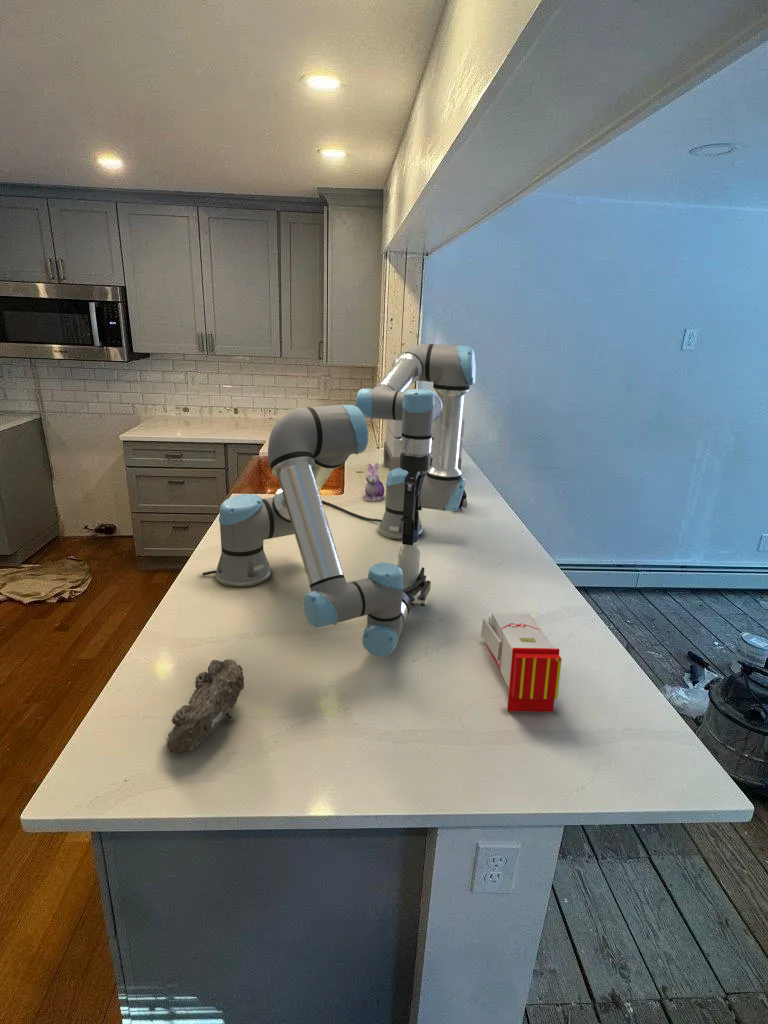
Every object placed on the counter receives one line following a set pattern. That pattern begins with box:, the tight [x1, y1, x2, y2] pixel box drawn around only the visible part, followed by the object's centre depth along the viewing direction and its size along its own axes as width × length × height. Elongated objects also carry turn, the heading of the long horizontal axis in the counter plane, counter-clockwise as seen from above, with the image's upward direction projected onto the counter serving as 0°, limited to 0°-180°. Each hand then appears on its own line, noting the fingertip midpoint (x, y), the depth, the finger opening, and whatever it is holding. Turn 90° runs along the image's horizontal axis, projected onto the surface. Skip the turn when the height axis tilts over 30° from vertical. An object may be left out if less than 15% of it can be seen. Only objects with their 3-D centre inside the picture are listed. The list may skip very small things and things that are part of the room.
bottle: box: [396, 542, 421, 598], centre depth 151 cm, size 6×6×20 cm
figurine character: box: [457, 489, 468, 512], centre depth 228 cm, size 7×8×15 cm
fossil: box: [166, 658, 245, 754], centre depth 106 cm, size 22×10×15 cm
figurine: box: [364, 462, 385, 502], centre depth 233 cm, size 9×10×15 cm
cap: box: [401, 530, 420, 544], centre depth 148 cm, size 4×4×2 cm
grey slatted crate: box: [383, 418, 465, 472], centre depth 268 cm, size 34×33×41 cm
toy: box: [480, 612, 562, 713], centre depth 124 cm, size 12×13×30 cm
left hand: (411, 570), depth 157 cm, fingers closed on bottle, 6 cm apart
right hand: (409, 538), depth 149 cm, fingers open, 6 cm apart
